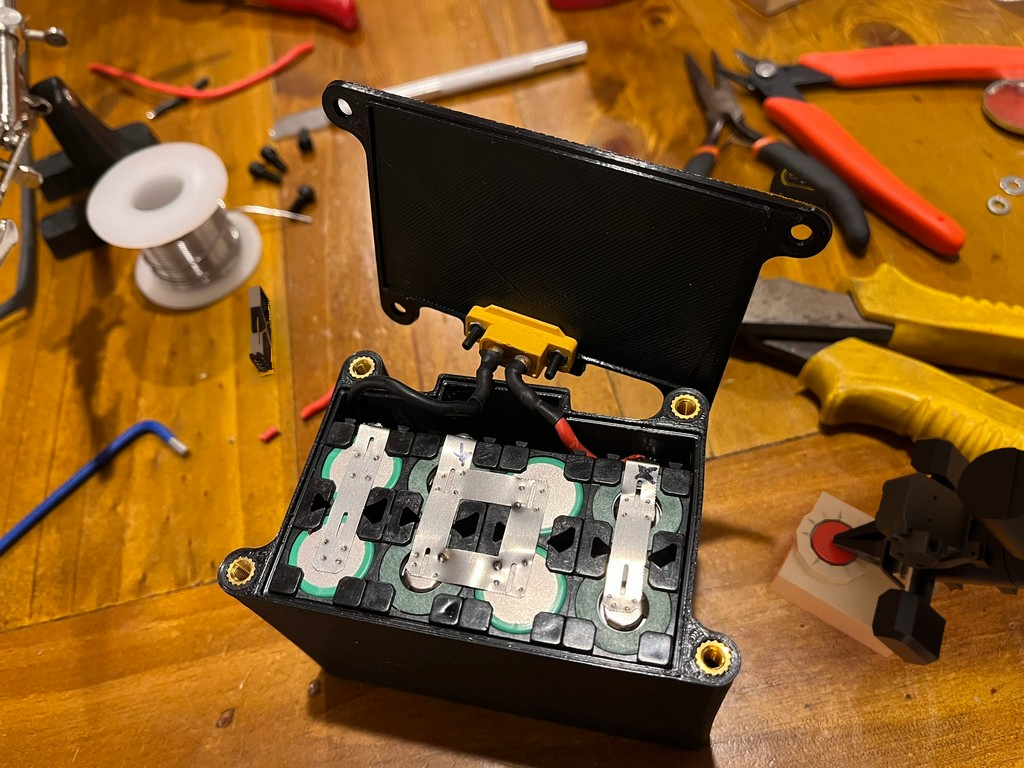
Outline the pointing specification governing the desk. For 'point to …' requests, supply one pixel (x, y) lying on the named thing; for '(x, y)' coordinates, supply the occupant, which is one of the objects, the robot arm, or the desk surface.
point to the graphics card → (260, 329)
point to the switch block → (833, 577)
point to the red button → (829, 544)
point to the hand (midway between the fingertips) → (835, 541)
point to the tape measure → (795, 188)
